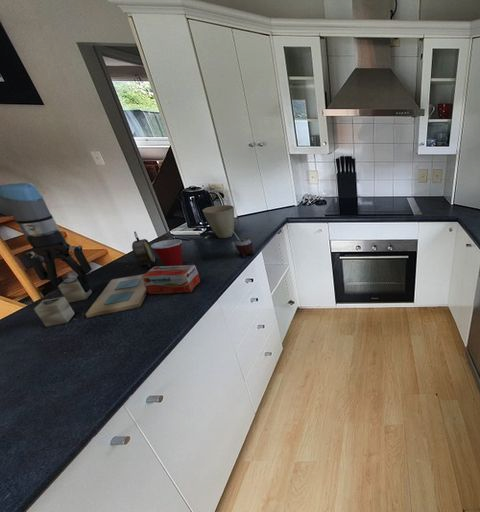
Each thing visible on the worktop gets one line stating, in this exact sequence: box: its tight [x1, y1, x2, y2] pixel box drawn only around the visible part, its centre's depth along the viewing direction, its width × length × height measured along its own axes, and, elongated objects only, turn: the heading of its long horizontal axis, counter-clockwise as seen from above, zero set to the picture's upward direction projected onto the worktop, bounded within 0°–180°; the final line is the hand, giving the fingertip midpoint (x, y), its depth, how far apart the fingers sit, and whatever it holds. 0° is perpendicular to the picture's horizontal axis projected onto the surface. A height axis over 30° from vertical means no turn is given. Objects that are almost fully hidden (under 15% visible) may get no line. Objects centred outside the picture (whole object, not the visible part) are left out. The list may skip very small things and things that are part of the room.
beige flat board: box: [85, 273, 148, 319], centre depth 102 cm, size 14×24×2 cm, turn 26°
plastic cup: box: [150, 239, 184, 266], centre depth 118 cm, size 11×11×12 cm
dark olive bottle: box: [131, 230, 156, 270], centre depth 118 cm, size 11×5×16 cm, turn 32°
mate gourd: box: [227, 229, 254, 259], centre depth 129 cm, size 8×8×15 cm
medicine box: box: [141, 264, 201, 295], centre depth 104 cm, size 15×8×8 cm, turn 98°
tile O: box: [58, 277, 93, 304], centre depth 98 cm, size 5×5×7 cm
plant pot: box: [201, 204, 235, 239], centre depth 150 cm, size 15×15×16 cm
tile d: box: [33, 296, 75, 328], centre depth 87 cm, size 5×5×7 cm
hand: (77, 292), depth 99 cm, fingers closed on tile O, 5 cm apart
